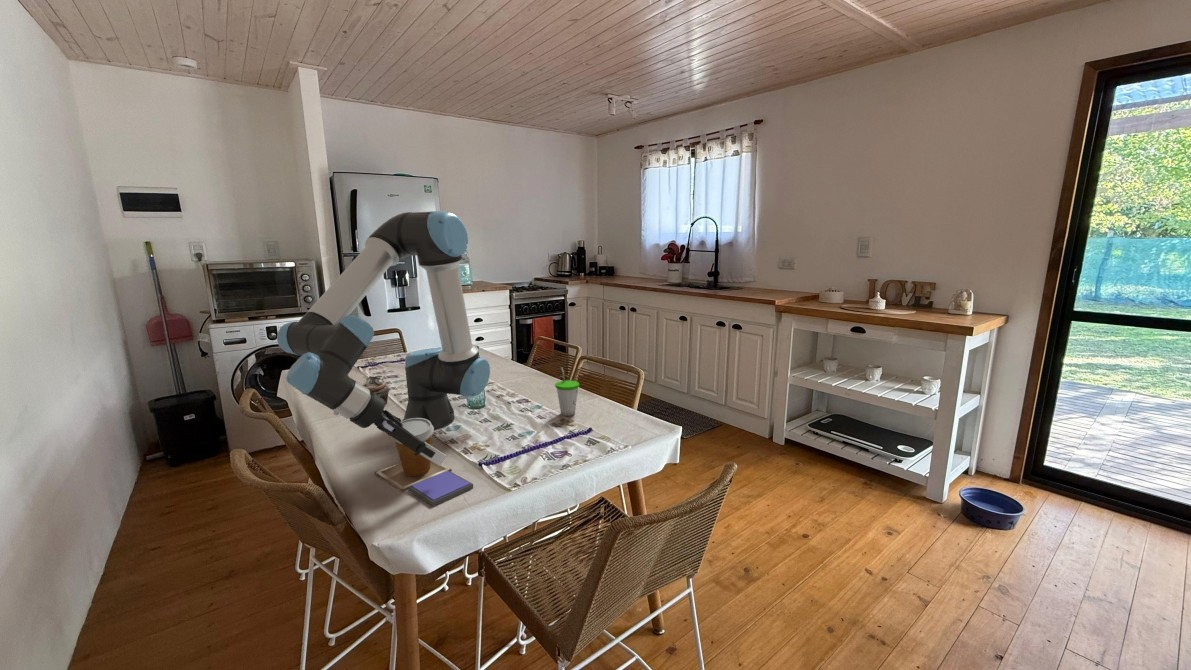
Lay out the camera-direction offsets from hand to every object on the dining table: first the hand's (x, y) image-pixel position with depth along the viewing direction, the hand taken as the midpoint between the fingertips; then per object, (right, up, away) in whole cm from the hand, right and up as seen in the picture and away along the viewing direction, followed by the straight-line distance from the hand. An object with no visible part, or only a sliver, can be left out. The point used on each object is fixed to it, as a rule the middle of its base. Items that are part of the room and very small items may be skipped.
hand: (432, 450), depth 119 cm
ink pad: (+4, -8, -6) cm, 10 cm away
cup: (+31, +2, +41) cm, 52 cm away
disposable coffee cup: (-4, -5, +2) cm, 7 cm away
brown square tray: (-5, -6, +2) cm, 8 cm away
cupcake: (-37, +4, +51) cm, 64 cm away
